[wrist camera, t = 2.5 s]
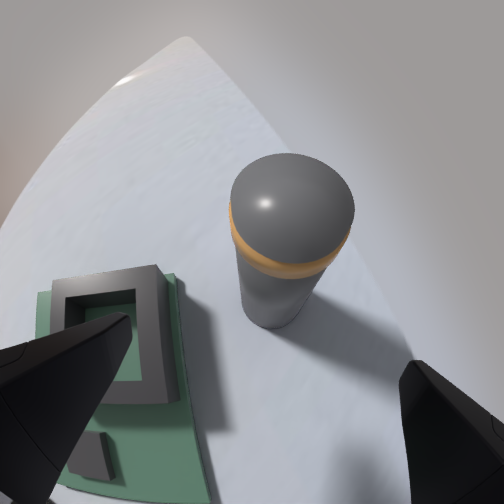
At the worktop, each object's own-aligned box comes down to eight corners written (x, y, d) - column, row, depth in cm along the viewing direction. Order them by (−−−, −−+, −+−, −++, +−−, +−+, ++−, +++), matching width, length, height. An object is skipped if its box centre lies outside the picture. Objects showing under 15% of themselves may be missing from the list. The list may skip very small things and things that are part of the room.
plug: (307, 323, 20) (375, 245, 9) (245, 334, 20) (237, 268, 8) (294, 267, 22) (332, 148, 11) (236, 276, 22) (221, 158, 10)
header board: (211, 499, 14) (203, 520, 10) (60, 481, 13) (35, 489, 9) (176, 276, 21) (162, 256, 18) (42, 295, 20) (18, 280, 17)
